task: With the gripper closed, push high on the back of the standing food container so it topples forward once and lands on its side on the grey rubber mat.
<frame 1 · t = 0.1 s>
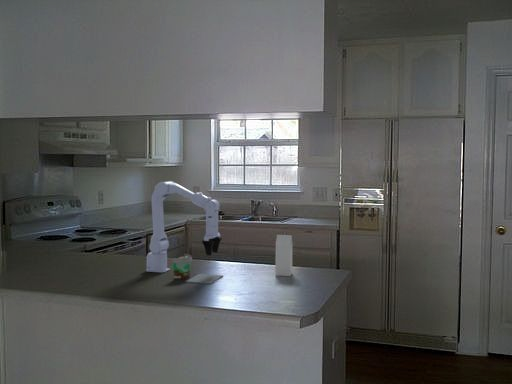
hand: (212, 253, 252), 10 cm above the countertop, fingers open, 7 cm apart
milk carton: (283, 275, 254), on the countertop
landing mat: (205, 279, 243), on the countertop
food container: (184, 278, 246), on the countertop
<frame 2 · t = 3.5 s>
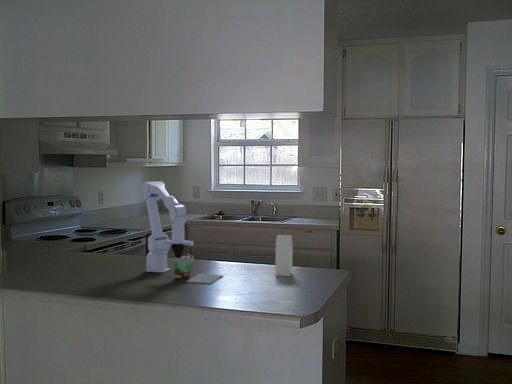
hand: (178, 260, 246), 8 cm above the countertop, fingers closed
food container: (184, 277, 246), on the countertop, touching gripper
everything else where it was.
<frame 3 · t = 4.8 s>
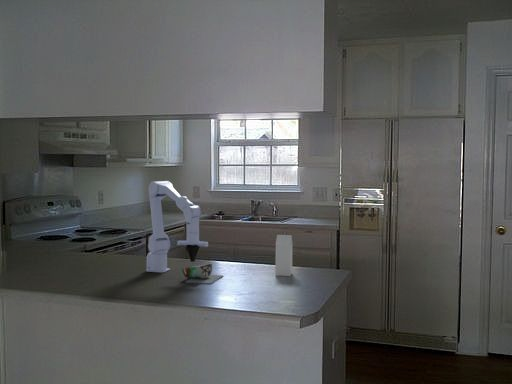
hand: (192, 261, 244), 8 cm above the countertop, fingers closed
food container: (187, 274, 246), point 2 cm above the countertop, touching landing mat
everything else where it was.
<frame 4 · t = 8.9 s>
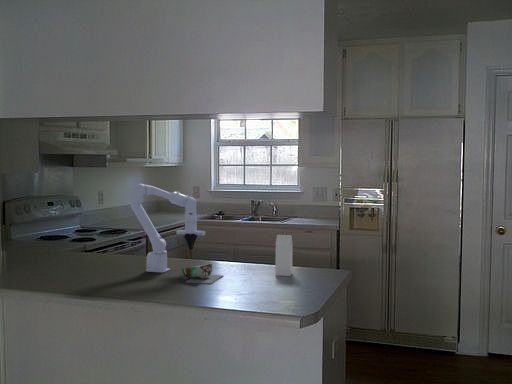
hand: (191, 249, 262), 10 cm above the countertop, fingers closed
nothing on the countertop moved.
at the end: food container tilted 78°; food container touching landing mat, countertop; food container inside the target area (7.1 cm from its centre), point 1.8 cm above the countertop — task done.
